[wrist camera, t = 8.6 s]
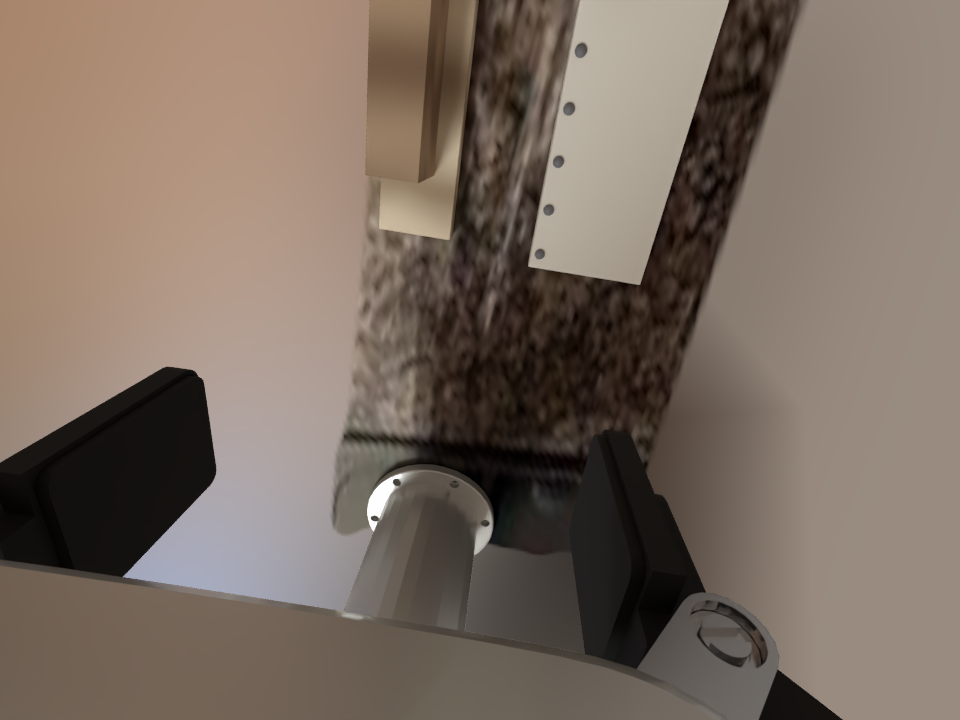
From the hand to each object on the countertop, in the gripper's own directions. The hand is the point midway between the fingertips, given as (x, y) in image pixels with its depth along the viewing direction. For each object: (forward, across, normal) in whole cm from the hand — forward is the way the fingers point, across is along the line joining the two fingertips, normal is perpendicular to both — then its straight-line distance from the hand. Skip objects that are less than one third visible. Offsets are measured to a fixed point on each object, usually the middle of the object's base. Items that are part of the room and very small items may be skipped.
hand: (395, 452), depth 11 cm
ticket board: (+25, -8, -10) cm, 28 cm away
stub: (+25, +4, -10) cm, 27 cm away
